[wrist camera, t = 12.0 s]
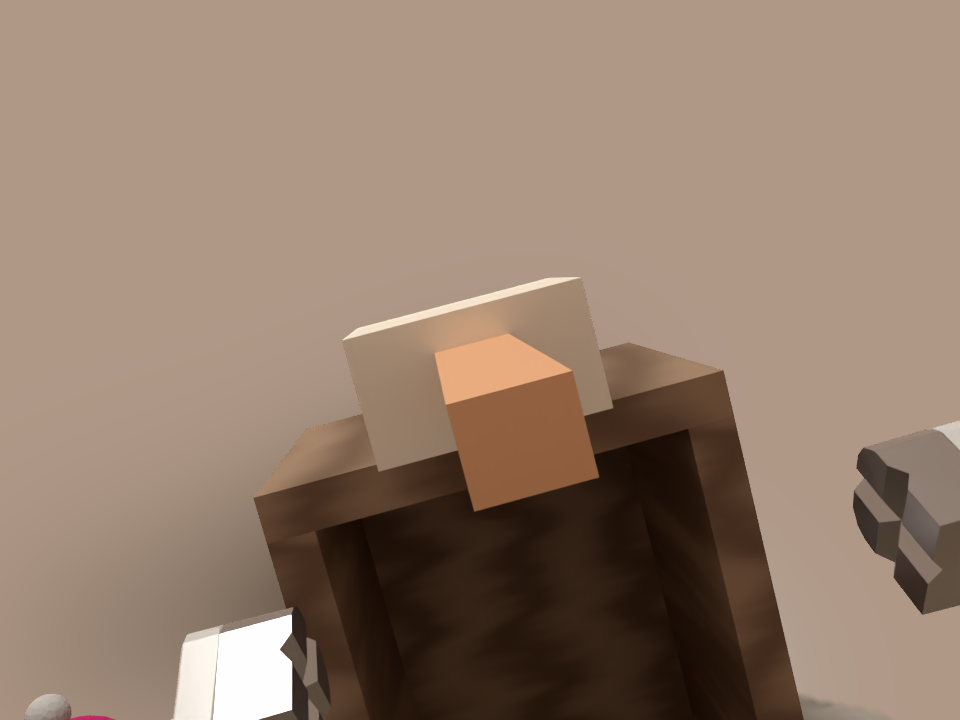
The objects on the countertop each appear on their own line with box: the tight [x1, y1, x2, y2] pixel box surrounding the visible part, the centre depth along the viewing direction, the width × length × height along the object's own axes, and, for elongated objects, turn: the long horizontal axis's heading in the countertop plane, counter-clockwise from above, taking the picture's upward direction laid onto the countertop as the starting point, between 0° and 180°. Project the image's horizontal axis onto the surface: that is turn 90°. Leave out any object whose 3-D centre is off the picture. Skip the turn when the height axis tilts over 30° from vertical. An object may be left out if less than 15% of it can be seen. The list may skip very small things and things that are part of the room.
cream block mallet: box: [342, 277, 613, 512], centre depth 29 cm, size 9×21×5 cm, turn 5°
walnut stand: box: [254, 343, 804, 720], centre depth 44 cm, size 20×16×26 cm
